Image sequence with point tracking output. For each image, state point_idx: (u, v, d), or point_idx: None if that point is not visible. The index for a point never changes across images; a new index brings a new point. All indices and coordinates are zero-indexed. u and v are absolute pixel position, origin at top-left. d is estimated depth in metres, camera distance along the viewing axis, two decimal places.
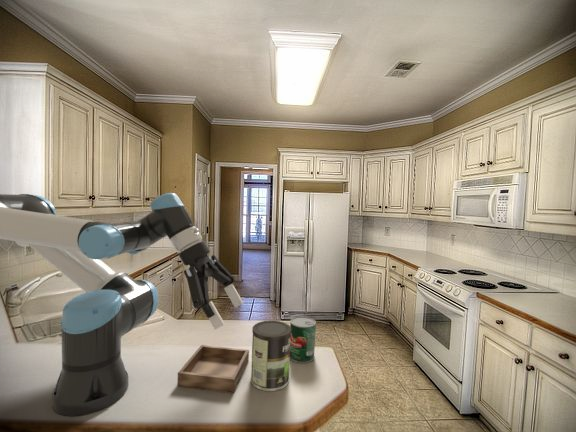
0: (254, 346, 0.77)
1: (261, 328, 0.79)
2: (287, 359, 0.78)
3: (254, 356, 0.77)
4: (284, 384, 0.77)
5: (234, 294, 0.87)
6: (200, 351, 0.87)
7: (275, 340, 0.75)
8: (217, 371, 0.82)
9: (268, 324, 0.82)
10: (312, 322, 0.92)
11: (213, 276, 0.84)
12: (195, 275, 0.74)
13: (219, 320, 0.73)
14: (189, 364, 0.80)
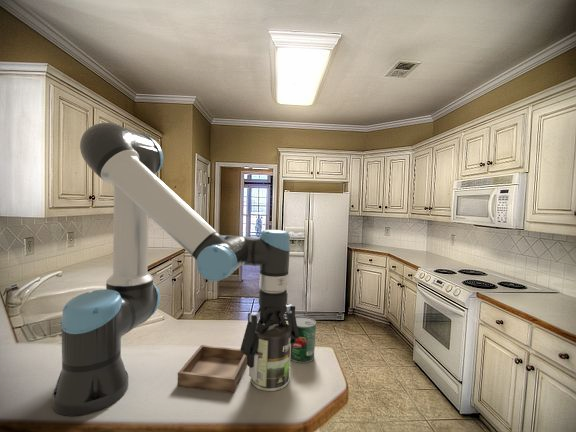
0: None
1: None
2: (287, 359, 0.78)
3: None
4: (284, 384, 0.77)
5: None
6: (200, 351, 0.87)
7: (275, 340, 0.75)
8: (217, 371, 0.82)
9: None
10: (312, 322, 0.92)
11: (279, 324, 0.82)
12: (253, 325, 0.74)
13: (253, 374, 0.76)
14: (189, 364, 0.80)
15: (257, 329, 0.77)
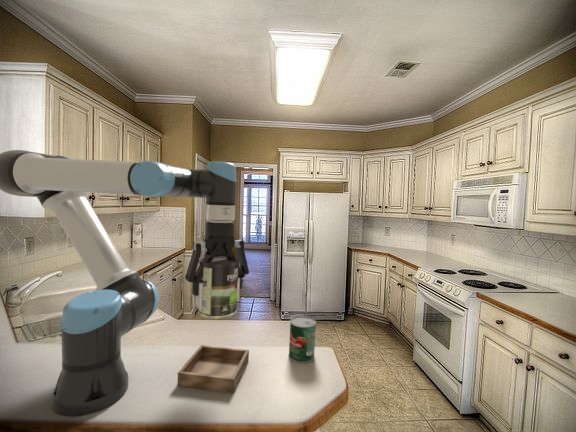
0: None
1: None
2: (233, 289, 0.78)
3: None
4: (230, 313, 0.78)
5: None
6: (200, 351, 0.87)
7: (219, 268, 0.75)
8: (217, 371, 0.82)
9: (217, 258, 0.83)
10: (312, 322, 0.92)
11: (227, 258, 0.83)
12: (197, 253, 0.75)
13: (198, 302, 0.77)
14: (189, 364, 0.80)
15: (203, 259, 0.78)
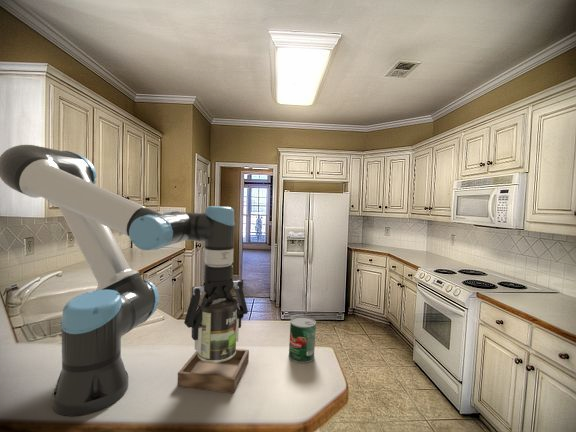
0: None
1: None
2: (232, 332, 0.79)
3: None
4: (229, 356, 0.78)
5: None
6: None
7: (218, 312, 0.76)
8: (217, 371, 0.82)
9: None
10: (312, 322, 0.92)
11: (226, 299, 0.83)
12: (196, 298, 0.76)
13: (198, 346, 0.77)
14: (189, 364, 0.80)
15: (202, 303, 0.79)
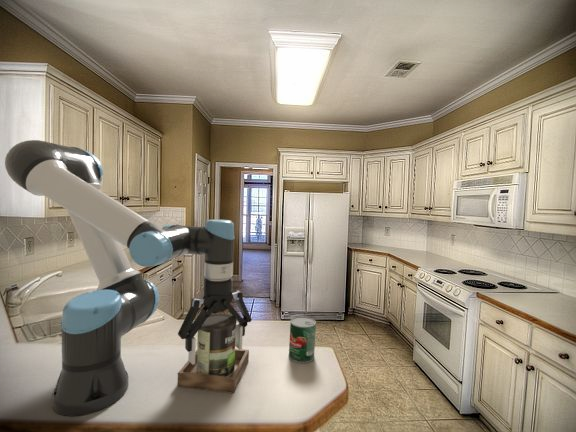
0: (198, 338, 0.79)
1: (207, 320, 0.81)
2: (231, 351, 0.79)
3: (198, 348, 0.79)
4: (227, 375, 0.79)
5: (238, 336, 0.85)
6: None
7: (217, 332, 0.76)
8: None
9: (215, 317, 0.84)
10: (312, 322, 0.92)
11: (228, 310, 0.84)
12: (194, 310, 0.76)
13: (191, 358, 0.76)
14: (189, 364, 0.80)
15: (199, 315, 0.79)
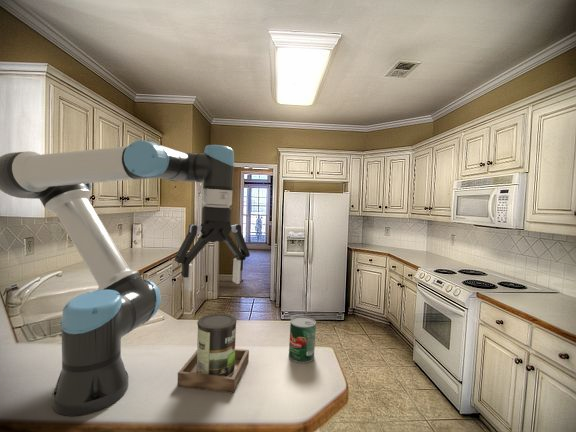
0: (198, 338, 0.79)
1: (207, 320, 0.81)
2: (231, 351, 0.79)
3: (198, 348, 0.79)
4: (227, 375, 0.79)
5: (236, 270, 0.83)
6: None
7: (217, 332, 0.76)
8: None
9: (215, 317, 0.84)
10: (312, 322, 0.92)
11: (226, 243, 0.82)
12: (192, 235, 0.74)
13: (188, 285, 0.74)
14: (189, 364, 0.80)
15: (197, 242, 0.77)
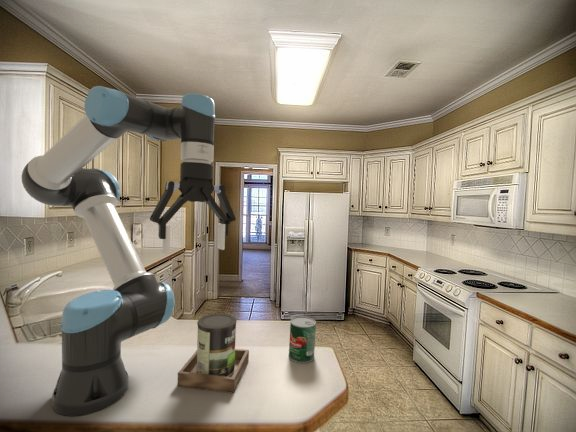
0: (198, 338, 0.79)
1: (207, 320, 0.81)
2: (231, 351, 0.79)
3: (198, 348, 0.79)
4: (227, 375, 0.79)
5: (220, 235, 0.76)
6: None
7: (216, 332, 0.76)
8: None
9: (215, 317, 0.84)
10: (312, 322, 0.92)
11: (209, 205, 0.75)
12: (168, 192, 0.67)
13: (165, 247, 0.68)
14: (189, 364, 0.80)
15: (175, 202, 0.70)
